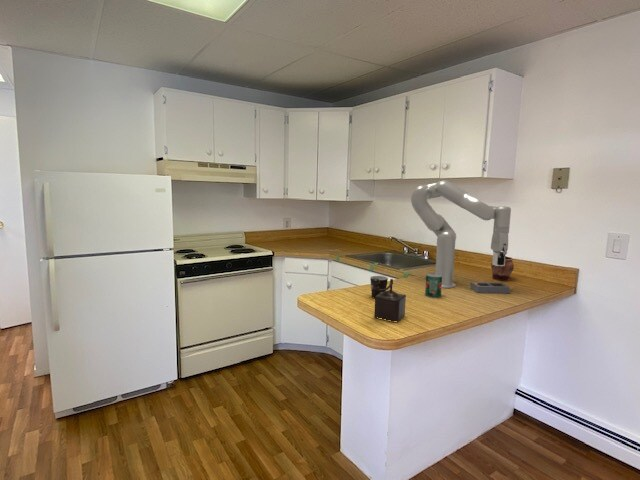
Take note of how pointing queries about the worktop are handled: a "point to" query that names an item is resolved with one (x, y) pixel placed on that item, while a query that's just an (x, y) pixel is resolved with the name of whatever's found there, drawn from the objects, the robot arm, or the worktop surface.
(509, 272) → the decorative planter
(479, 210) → the robot arm
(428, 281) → the canned tomato
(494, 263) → the block
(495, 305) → the worktop surface
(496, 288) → the power strip
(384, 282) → the coffee mug
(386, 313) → the manual coffee grinder
